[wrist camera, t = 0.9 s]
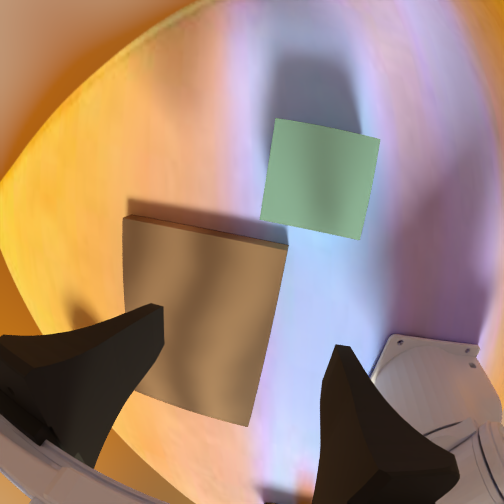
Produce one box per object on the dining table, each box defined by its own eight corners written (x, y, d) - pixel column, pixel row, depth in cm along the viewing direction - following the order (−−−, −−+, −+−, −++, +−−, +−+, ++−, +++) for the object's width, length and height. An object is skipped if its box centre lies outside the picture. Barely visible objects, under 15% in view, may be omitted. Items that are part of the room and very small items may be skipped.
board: (288, 245, 20) (287, 250, 19) (250, 418, 26) (247, 427, 25) (131, 214, 21) (122, 218, 20) (139, 383, 27) (134, 390, 26)
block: (362, 143, 17) (380, 139, 12) (348, 219, 18) (359, 240, 14) (285, 128, 17) (275, 118, 13) (273, 203, 19) (259, 219, 14)
